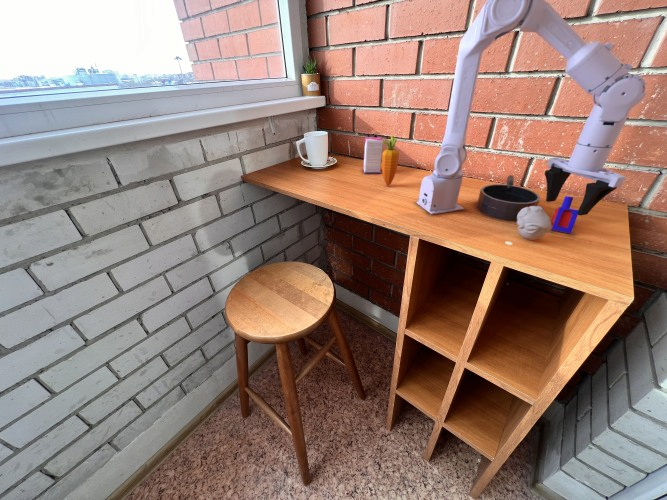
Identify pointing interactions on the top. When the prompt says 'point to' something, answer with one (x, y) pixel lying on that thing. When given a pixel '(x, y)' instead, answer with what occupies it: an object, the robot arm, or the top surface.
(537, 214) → the frog figurine
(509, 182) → the pot handle
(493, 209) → the pot
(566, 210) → the small bottle
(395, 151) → the carrot
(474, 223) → the top surface
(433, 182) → the robot arm
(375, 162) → the supplement box
